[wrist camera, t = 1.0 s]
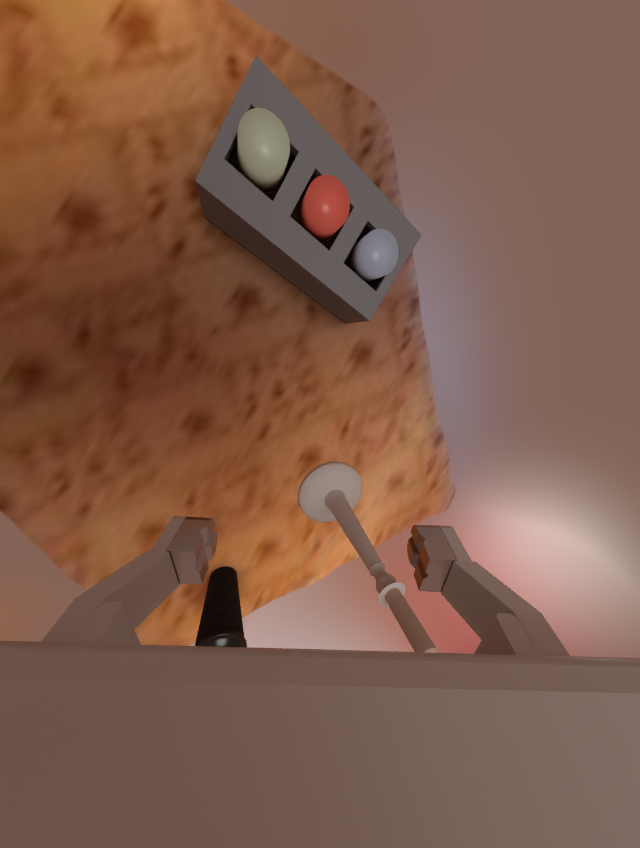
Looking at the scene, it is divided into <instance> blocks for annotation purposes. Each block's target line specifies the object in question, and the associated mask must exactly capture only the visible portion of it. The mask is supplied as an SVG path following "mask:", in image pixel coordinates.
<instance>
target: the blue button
mask: <svg viewBox="0 0 640 848" xmlns="http://www.w3.org/2000/svg"><path fill="white" fill-rule="evenodd" d="M398 256H399V249H398V244H397V241H396V239H395V237H394V236H393V235H392V233H390V232H389V231H388V230H386V229H381V228H379V229H374V230H372V231H371V232H369V233H368V234H367V235H365V236H364V237H363V238H362V239H360V240H359V241H358V242H357V243H355V245H354V246H353V247H352V249H351V252H350V257H349V263H350V268H351V270H352V271H353V272H354V273H356V274H357V275H358V276H359V277H360V278H361V279H362V280H364V281H365V282H369V281H372V280H375V279H377V278H380V277H382V276H385V275H387V274H389V273H390V272H391V271H392V270H393V269H394V267H395V266H396V263H397V261H398Z"/></svg>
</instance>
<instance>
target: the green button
mask: <svg viewBox="0 0 640 848" xmlns="http://www.w3.org/2000/svg"><path fill="white" fill-rule="evenodd" d="M289 154H290V142H289V137H288V134H287V131H286V129H285V127H284V125H283V123H282V122H281V120H280V119H279V118H278V117H277V116H276V115H275V114H274V113H272V112H271V111H269V110H267V109H264V108H253V109H250V110H249V111H247V112H246V113H245V114H244V115H243V116H242V118H241V120H240V122H239V126H238V151H237V159H238V166H239V169H240V172H241V174H242V175H243V176H244V177H245V178H247V179H248V180H249V181H250V182H251V183H252V184H254V185H255V186H256V187H257V188H258V189H259V190H260V191H262V192H269V191H272V190H274V189H276V188H277V187H278V186H279V184H280V183H281V181H282V179H283V175H284V172H285V168H286V165H287V162H288V158H289Z"/></svg>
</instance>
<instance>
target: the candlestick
mask: <svg viewBox="0 0 640 848" xmlns="http://www.w3.org/2000/svg"><path fill="white" fill-rule="evenodd" d="M361 492H362V482H361V479H360V476H359V474H358V473H357V472H356V471H355V469H354V468H352V467H351V466H349V465H348V464H345V463H341V462H329V463H325V464H322V465H320V466H318V467H316V468H315V469H313V470H312V471H311V472H310V473H309V474H308V475H307V476H306V477H305V478H304V480H303V482H302V484H301V486H300V489H299V494H298V498H299V504H300V507H301V509H302V511H303V512H304V513H305V514H306V515H307V516H308V517H309V518H311V519H313V520H316V521H320V522H330V521H334V520H337V521H338V523H339V524H340V526H341V528H342V529H343V531H344V532H345V534H346V535H347V537H348V539H349V540H350V542H351V543H352V545H353V546H354V548H355V549H356V551H357V553H358V554H359V556H360V557H361V559H362V560H363V562H364V564H365V565H366V567H367V568H368V570H369V571H370V574H371V575H372V576H374V577H375V579H376V589H377V591H378V592H379V593H380V595H379V598H378V600H379V603H380V604H381V605H382V606H385V607H387V606H389V607H390V609H391V610H392V612H393V614H394V616H395V618H396V619H397V621H398V623H399V624H400V626H401V628H402V630H403V632H404V633H405V635H406V637H407V639H408V641H409V642H410V644H411V646H412V648H413V649H414V651H415V652H427V653H438V650H437V648H436V647H435V645H434V644H433V642H432V640H431V639H430V638H429V636H428V634H427V633H426V631H425V629H424V628H423V626H422V625H421V623H420V622H419V620H418V619H417V617H416V615H415V614H414V612H413V611H412V609H411V608H410V606H409V605H408V603H407V601H406V600H405V598H404V597H403V596H404V594H405V591H406V588H405V585H404V584H403V583H400V582H396V579H395V577H394V576H392V575H390V574H388V573H387V572H386V571H385V569H384V568H385V567H384V564H383V563H382V562H381V560H380V558H379V557H378V555H377V553H376V551H375V549H374V548H373V546H372V544H371V542H370V541H369V539H368V537H367V535H366V534H365V532H364V530H363V528H362V526H361V525H360V523H359V521H358V519H357V518H356V516H355V514H354V512H353V511H352V509H353V508H354V507H355V506H356V504H357V503H358V501H359V499H360V496H361Z"/></svg>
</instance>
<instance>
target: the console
mask: <svg viewBox="0 0 640 848" xmlns="http://www.w3.org/2000/svg"><path fill="white" fill-rule="evenodd" d="M253 108H264V109H267V110H269V111H271V112H272V113H274V114H275V115H276V116H277V117H278V118H279V119H280V120H281V122H282V123H283V125H284V127H285V129H286V131H287V134H288V137H289V142H290V154H289V158H288V162H287V165H286V168H287V169H288V170H289V172H288V173H287V175H286V177H285V179H284V181H283V183H282V185H281V187H280V189H279V191H278V193H277V194H276V196H275V198H274V200H273V201H272V200H271V199H270V198H268V197H267V196H266V195H265V194H264V193H263V192H262V191H260V190H259V189H258V188H257V187H256V186H255V185H254V184H252V183H251V182H250V181H249V180H248V179H247V178H245V177H244V176H243V175H242V174H241V173H240V172H239V171H237V169H238V167H239V166H238V159H237V151H238V126H239V122H240V120H241V118H242V116H243V115H244V114H245V113H246V112H247V111H249V110H250V109H253ZM321 175H331V176H334V177H336V178H337V179H338V180H340V181H341V182H342V184H343V185H344V186H345V188H346V190H347V192H348V196H349V200H350V211H349V215H348V218H347V220H346V221H345V223H344V224H343V225H342V227H341V229H340V231H339V232H338V234H337V236H336V238H335V240H334V241H333V243H332V245H331V247H330V248H329V250H328V249H327V248H326V247H325V246H323V245H322V244H321V243H320V242H319V241H318V240H317V239H315V238H314V237H313V236H312V235H311V234H310V233H309V232H307V231H306V230H305V229H304V228H303V227H302V226H301V225H299V224H298V223H297V222H296V221H295V220H294V219H292V218H291V217H290V216H291V214H292V212H293V210H294V208H295V206H296V204H297V203H298V201H299V199H300V197H301V195H302V193H303V191H304V190H305V188H306V187H307V188H308V187H309V185H310V184H311V182H312V181H313V180H314V179H315V178H317V177H318V176H321ZM195 182H196V186H197V189H198V193H199V197H200V201H201V204H202V208H203V212H204V216H205V218H206V219H208V220H209V221H210V222H212V223H213V224H214V225H216V226H217V227H218V228H220V229H221V230H222V231H223V232H225V233H226V234H227V235H229V236H230V237H231V238H233V239H234V240H235V241H237V242H238V243H239V244H241V245H242V246H243V247H245V248H246V249H247V250H249V251H250V252H251V253H252V254H254V255H255V256H256V257H258V258H259V259H260V260H262V261H263V262H264V263H266V264H267V265H268V266H270V267H271V268H272V269H274V270H275V271H276V272H278V273H279V274H280V275H281V276H283V277H284V278H285V279H287V280H288V281H289V282H291V283H292V284H293V285H295V286H296V287H297V288H299V289H300V290H301V291H303V292H304V293H305V294H306V295H308V296H309V297H310V298H312V299H313V300H314V301H316V302H317V303H318V304H320V305H321V306H322V307H324V308H325V309H326V310H328V311H329V312H330V313H332V314H333V315H334V316H335V317H337V318H338V319H339V320H341V321H342V322H343V323H353V322H363V321H370V320H371V318H372V316H373V315H374V313H375V311H376V310H377V308H378V306H379V305H380V303H381V301H382V300H383V298H384V296H385V295H386V293H387V291H388V290H389V288H390V287H391V285H392V283H393V282H394V280H395V278H396V277H397V275H398V273H399V272H400V270H401V268H402V267H403V265H404V263H405V262H406V260H407V258H408V257H409V255H410V253H411V252H412V250H413V248H414V247H415V245H416V243H417V242H418V240H419V238H420V237H421V234H420V233H419V232H418V231H417V230H416V229H415V227H414V226H413V225H412V224H411V223H410V222H409V221H408V220H407V219H406V218H405V217H404V216H403V214H402V213H401V212H400V211H399V210H398V209H397V208H396V207H395V206H394V205H393V204H392V203H391V201H390V200H389V199H388V198H387V197H386V196H385V195H384V194H383V193H382V192H381V191H380V189H379V188H378V187H377V186H376V185H375V184H374V183H373V182H372V181H371V180H370V179H369V178H368V176H367V175H366V174H365V173H364V172H363V171H362V170H361V169H360V168H359V167H358V166H357V165H356V163H355V162H354V161H353V160H352V159H351V158H350V157H349V156H348V155H347V154H346V153H345V151H344V150H343V149H342V148H341V147H340V146H339V145H338V144H337V143H336V142H335V141H334V140H333V138H332V137H331V136H330V135H329V134H328V133H327V132H326V131H325V130H324V129H323V128H322V127H321V125H320V124H319V123H318V122H317V121H316V120H315V119H314V118H313V117H312V116H311V115H310V113H309V112H308V111H307V110H306V109H305V108H304V107H303V106H302V105H301V104H300V103H299V102H298V100H297V99H296V98H295V97H294V96H293V95H292V94H291V93H290V92H289V91H288V90H287V89H286V87H285V86H284V85H283V84H282V83H281V82H280V81H279V80H278V79H277V78H276V77H275V75H274V74H273V73H272V72H271V71H270V70H269V69H268V68H267V67H266V66H265V65H264V64H263V62H262V61H261V60H260V59H259V58H258V57H257V56H255V58H254V60H253V62H252V64H251V66H250V69H249V71H248V73H247V75H246V77H245V79H244V81H243V83H242V85H241V87H240V89H239V91H238V93H237V95H236V97H235V100H234V102H233V104H232V106H231V108H230V110H229V112H228V114H227V116H226V118H225V120H224V122H223V124H222V126H221V128H220V130H219V133H218V135H217V137H216V139H215V141H214V143H213V145H212V147H211V149H210V151H209V153H208V155H207V157H206V159H205V161H204V164H203V166H202V168H201V170H200V172H199V174H198V176H197V178H196V180H195ZM379 228H381V229H386V230H388V231H389V232H390V233H392V235H393V236H394V237H395V239H396V241H397V244H398V249H399V256H398V261H397V263H396V266H395V267H394V269H393V270H392V271H391V272H390V273H389V274H387V275H385V276H382V277H380V278H377V279H375V280H372V281H369V282H365V281H364V280H362V279H361V278H360V277H359V276H358V275H357V274H356V273H354V272H353V271H352V270H351V269H350V268H349V267H348V266H346V265H345V264H344V261H345V259H346V258H347V256H348V254H349V252H350V251H351V249H352V247H353V245H354V244H355V242H356V240H357V239H358V237H360V238H361V239H362V238H363V237H364V236H365V235H367V234H368V233H369V232H371V231H372V230H374V229H379Z"/></svg>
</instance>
